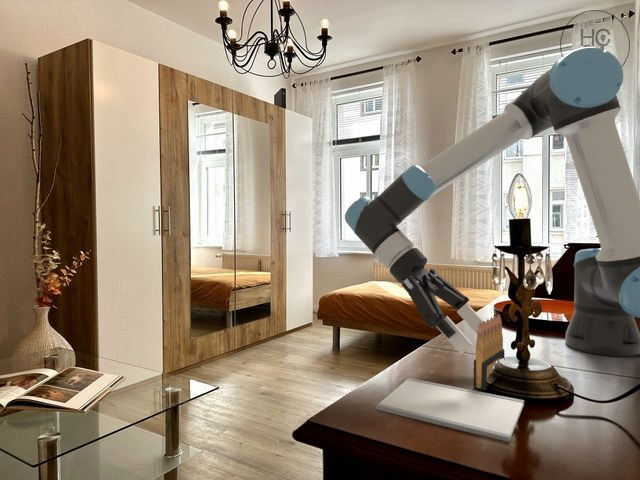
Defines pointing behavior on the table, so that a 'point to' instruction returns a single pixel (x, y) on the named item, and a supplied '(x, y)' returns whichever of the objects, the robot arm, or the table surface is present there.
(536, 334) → the table surface
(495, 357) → the ammunition clip
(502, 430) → the white flat rectangular board
